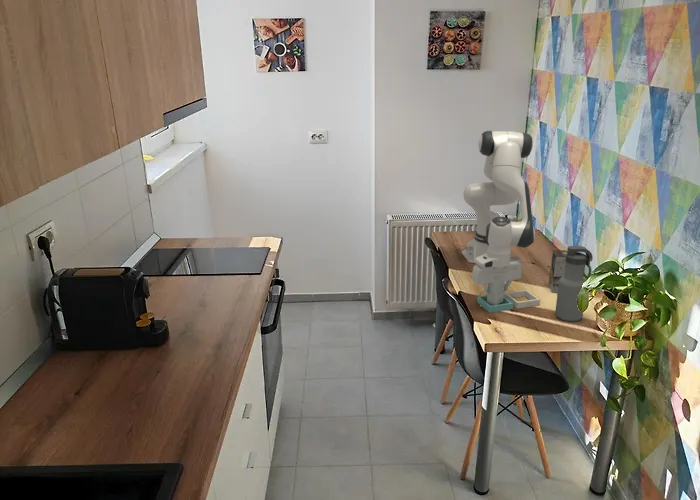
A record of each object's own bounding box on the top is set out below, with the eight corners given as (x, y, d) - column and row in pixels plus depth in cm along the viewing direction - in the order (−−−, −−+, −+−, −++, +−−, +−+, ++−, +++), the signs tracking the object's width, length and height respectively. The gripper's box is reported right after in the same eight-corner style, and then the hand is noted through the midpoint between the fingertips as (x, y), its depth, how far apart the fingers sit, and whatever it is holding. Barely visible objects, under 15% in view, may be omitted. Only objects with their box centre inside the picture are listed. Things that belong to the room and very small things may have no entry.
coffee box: (567, 293, 226) (571, 257, 221) (551, 292, 228) (555, 256, 222) (563, 284, 235) (568, 250, 229) (548, 284, 236) (552, 249, 231)
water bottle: (577, 310, 211) (586, 243, 202) (587, 322, 202) (597, 251, 192) (551, 310, 211) (559, 243, 202) (560, 322, 202) (568, 252, 192)
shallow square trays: (476, 302, 220) (477, 296, 219) (525, 295, 225) (525, 289, 224) (489, 312, 211) (489, 306, 210) (539, 305, 216) (540, 299, 215)
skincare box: (494, 298, 219) (496, 271, 215) (503, 301, 216) (506, 273, 212) (486, 302, 215) (488, 275, 211) (495, 306, 212) (497, 278, 208)
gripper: (517, 253, 215) (514, 285, 220) (471, 259, 210) (469, 291, 215) (526, 258, 209) (523, 291, 214) (478, 264, 204) (476, 297, 209)
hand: (495, 291), depth 214 cm, fingers closed on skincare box, 7 cm apart
